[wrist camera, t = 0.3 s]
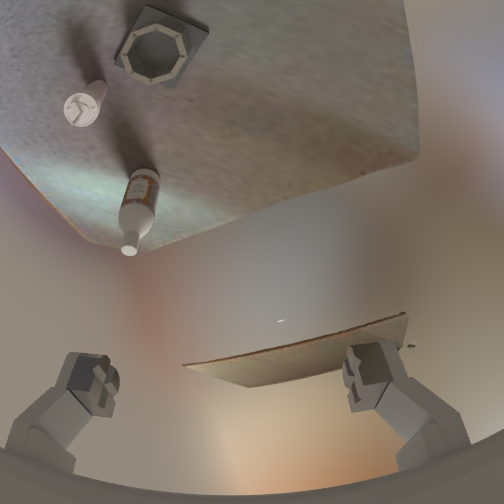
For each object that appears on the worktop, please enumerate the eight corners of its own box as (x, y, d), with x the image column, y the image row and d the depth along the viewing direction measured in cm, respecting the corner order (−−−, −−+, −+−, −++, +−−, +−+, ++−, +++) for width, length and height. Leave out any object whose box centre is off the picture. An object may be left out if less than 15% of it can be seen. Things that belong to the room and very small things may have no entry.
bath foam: (159, 166, 61) (144, 236, 49) (162, 192, 67) (150, 263, 54) (128, 167, 60) (105, 237, 48) (132, 193, 66) (114, 263, 53)
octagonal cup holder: (146, 4, 35) (137, 8, 31) (209, 32, 41) (207, 38, 37) (115, 62, 43) (104, 73, 38) (173, 87, 48) (169, 100, 44)
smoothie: (97, 109, 49) (71, 147, 40) (77, 88, 44) (45, 121, 36) (121, 89, 47) (97, 123, 38) (100, 66, 42) (70, 94, 33)
